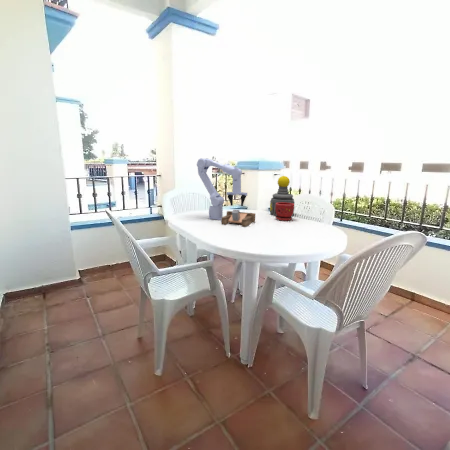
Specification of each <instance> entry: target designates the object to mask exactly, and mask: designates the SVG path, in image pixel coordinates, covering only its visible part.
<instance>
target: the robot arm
mask: <svg viewBox="0 0 450 450" xmlns="http://www.w3.org/2000/svg"><path fill="white" fill-rule="evenodd" d="M196 167H197V174H198V176H199V178H200V180H201V182H202V183H203V185H204V187H205V188H206V190H207V192H208V194H209V199H210V204H211V205H210V206H209V208H208V219H209V220H218V221H222V217H223V213H224V212H223V209H224V208H223V204H224V203H225V199H224V197H223V196H221V194H220V193H218V191H217V190H216V188H215V186H214V184H213V182H212V181H211V179H210V176H209V175H208V173H207V172H208V169H209V168H210V167H215V168H217V169H220V170H222V172H223V173H225V174H228V175H230V176H232V191H226V196H227V198H228V200H229V203H230V206H233V203H234V202H233V200H234V199H233V198H234V196H237V195H238V196H240V206H241V207H244V203H245V199H246V198H247V196H248V192H242V174H243V170H242V169H241V168H240V167H237V166H234V165H233V166H232V165H230V163H225V164H223V163H220V162H218V161H215V160H213V159H209V158H199V159H198V160H197V162H196Z"/></svg>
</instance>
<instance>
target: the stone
mask: <svg viewBox="0 0 450 450" xmlns="http://www.w3.org/2000/svg"><path fill="white" fill-rule="evenodd" d="M232 211H233V212H232V218H233V220H234V221H239V219H240V212H241V211H240V210H239V209H233V210H232Z"/></svg>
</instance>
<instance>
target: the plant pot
mask: <svg viewBox="0 0 450 450" xmlns="http://www.w3.org/2000/svg"><path fill="white" fill-rule="evenodd" d="M286 208H287V210H286ZM283 209H284V210H283ZM275 210H276V214H277V216H275V219H276V220H278V221H282V222H285V221H286V222H288V221H291V220H292V219H293V217H292V216H293V215H294V213H293V211H294V212H295V203H294V204H293V203H285V202H279V203H276V207H275ZM289 210H290V211H289ZM292 214H293V215H292Z"/></svg>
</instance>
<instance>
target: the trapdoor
mask: <svg viewBox="0 0 450 450" xmlns="http://www.w3.org/2000/svg"><path fill="white" fill-rule="evenodd" d="M246 216H247V214H244V213H240V219H239V221H234V220H233V218H232V215H231V217H230V219H229V220H228V222H230V223H235V224H242V219H244V218H245V217H246Z"/></svg>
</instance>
